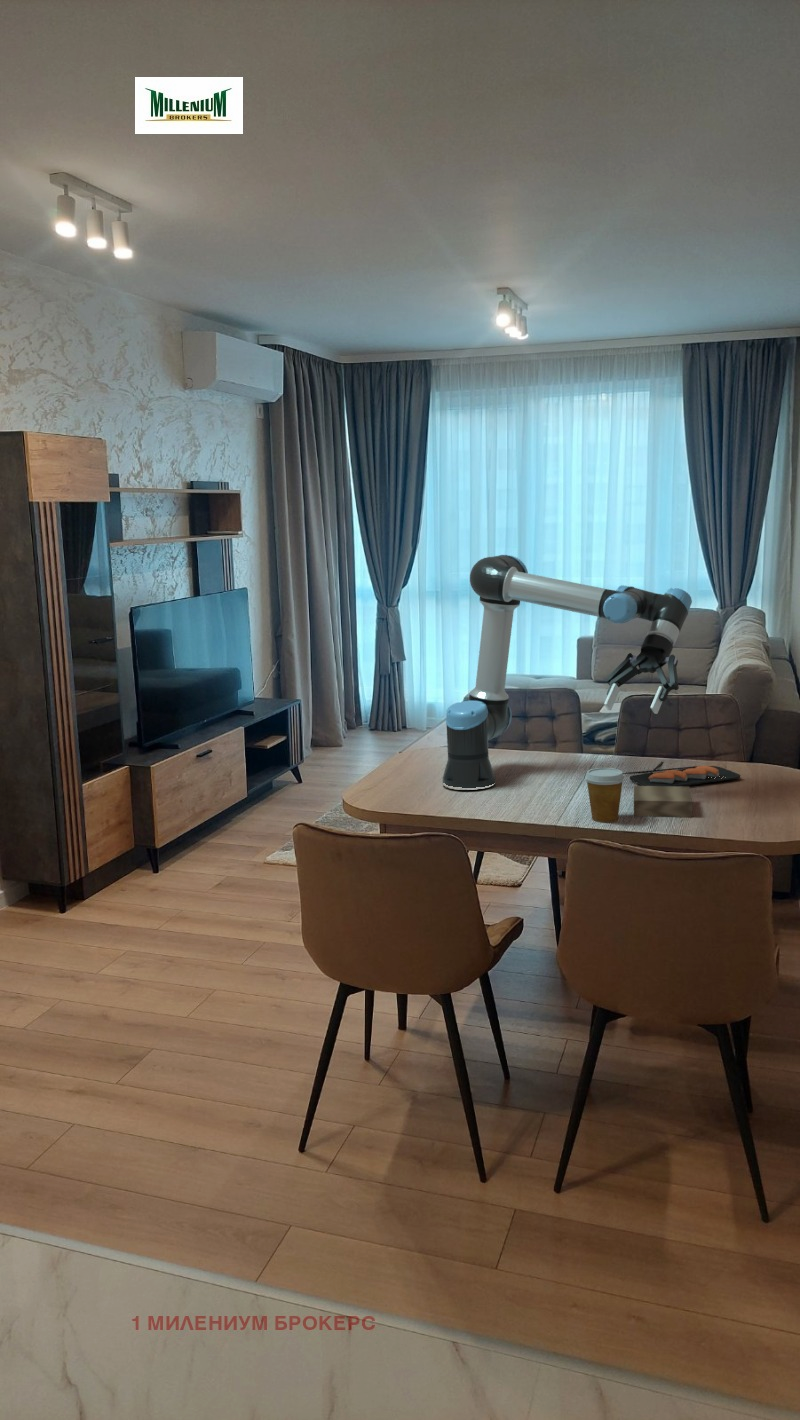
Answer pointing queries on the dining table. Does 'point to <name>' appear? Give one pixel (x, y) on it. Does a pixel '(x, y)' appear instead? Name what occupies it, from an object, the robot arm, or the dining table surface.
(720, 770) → the sushi plate
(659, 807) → the walnut base
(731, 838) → the dining table surface
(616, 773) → the disposable coffee cup
